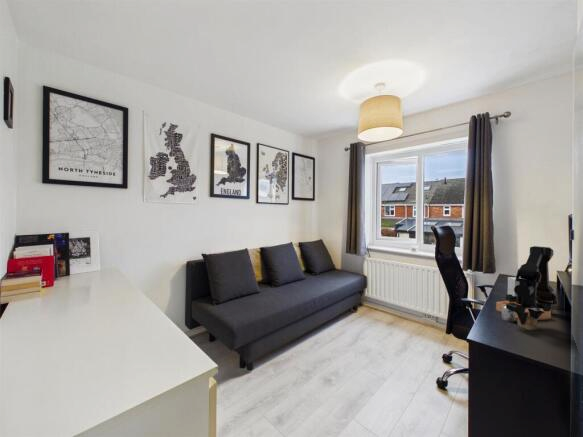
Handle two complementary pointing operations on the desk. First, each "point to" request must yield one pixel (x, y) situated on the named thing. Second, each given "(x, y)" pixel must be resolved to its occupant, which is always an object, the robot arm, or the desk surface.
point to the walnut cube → (529, 323)
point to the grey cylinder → (507, 314)
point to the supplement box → (512, 285)
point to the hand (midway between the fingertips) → (527, 324)
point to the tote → (544, 316)
